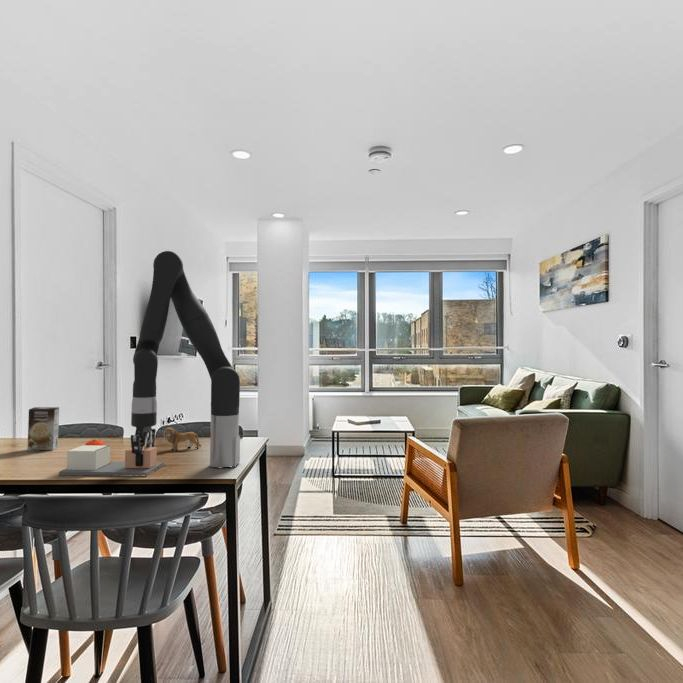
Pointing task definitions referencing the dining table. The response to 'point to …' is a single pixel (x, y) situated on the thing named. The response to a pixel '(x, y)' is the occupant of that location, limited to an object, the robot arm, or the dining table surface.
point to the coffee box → (43, 428)
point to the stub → (148, 458)
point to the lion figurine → (180, 437)
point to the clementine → (95, 442)
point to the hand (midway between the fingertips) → (143, 463)
